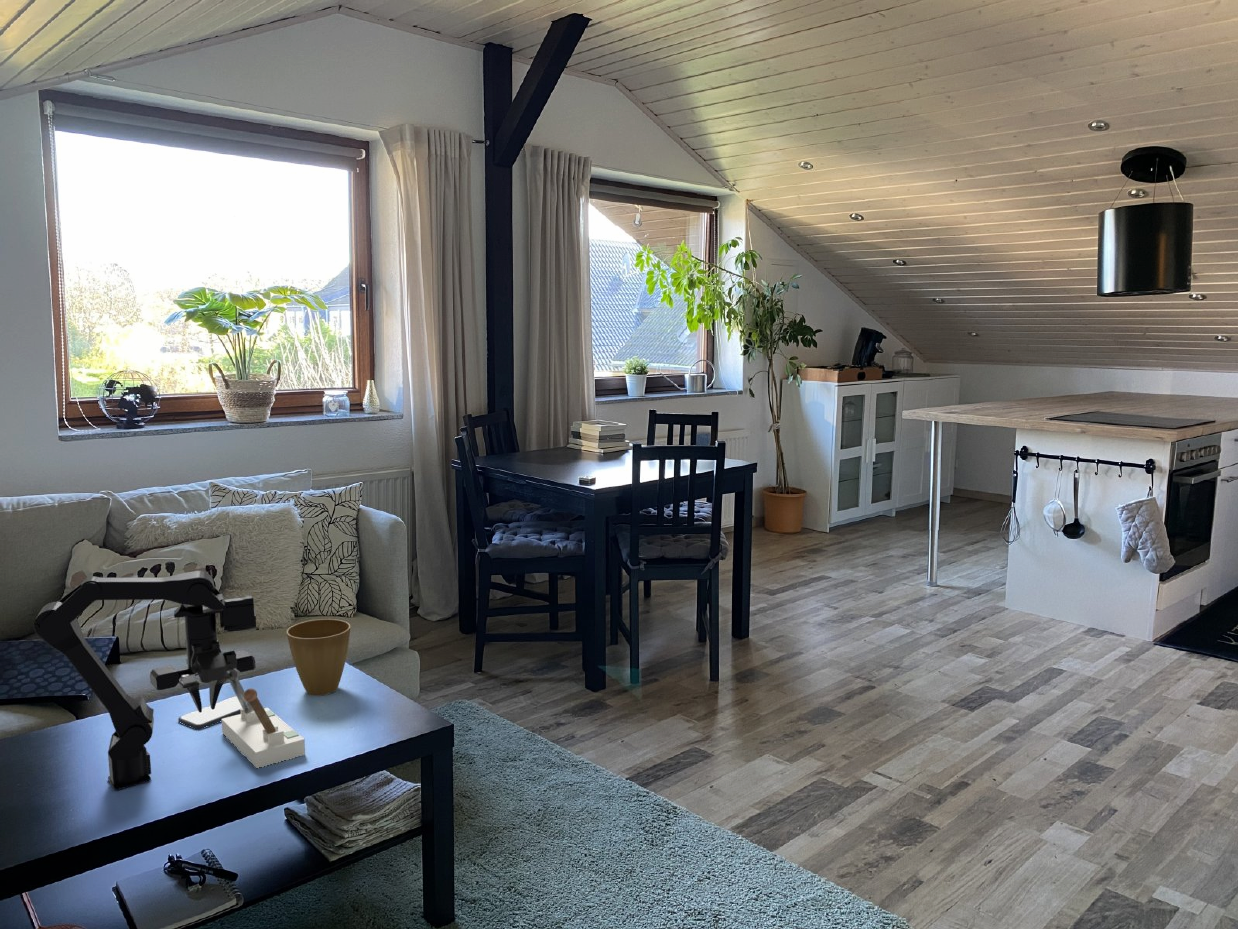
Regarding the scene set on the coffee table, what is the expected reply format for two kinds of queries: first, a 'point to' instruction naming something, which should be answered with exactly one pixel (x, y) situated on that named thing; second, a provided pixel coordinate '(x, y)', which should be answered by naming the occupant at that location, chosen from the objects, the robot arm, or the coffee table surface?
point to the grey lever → (239, 691)
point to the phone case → (212, 713)
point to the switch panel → (263, 738)
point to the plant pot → (319, 653)
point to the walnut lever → (259, 710)
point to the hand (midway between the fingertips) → (206, 710)
